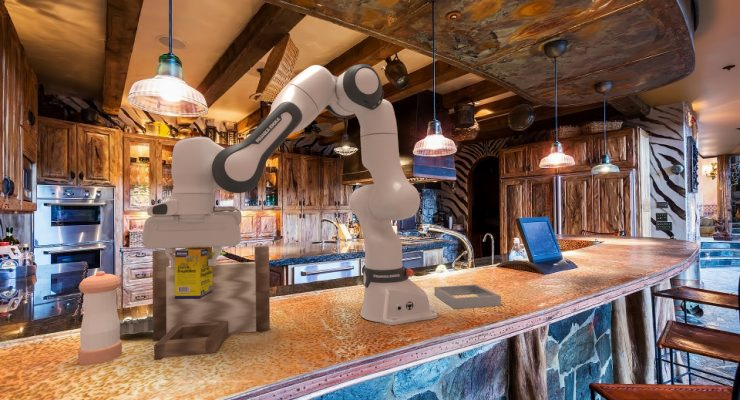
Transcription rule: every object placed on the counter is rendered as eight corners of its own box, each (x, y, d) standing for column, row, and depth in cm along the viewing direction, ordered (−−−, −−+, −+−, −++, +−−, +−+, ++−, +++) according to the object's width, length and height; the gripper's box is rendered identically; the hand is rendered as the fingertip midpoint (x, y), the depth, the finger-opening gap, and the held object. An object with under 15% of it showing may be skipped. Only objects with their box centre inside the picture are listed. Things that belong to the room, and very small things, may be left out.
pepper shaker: (72, 372, 67) (71, 276, 67) (85, 357, 74) (85, 270, 74) (116, 365, 70) (116, 272, 70) (125, 351, 77) (125, 267, 77)
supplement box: (200, 299, 74) (200, 249, 75) (173, 299, 74) (173, 250, 75) (213, 292, 80) (213, 246, 81) (188, 292, 80) (188, 246, 81)
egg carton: (168, 326, 89) (168, 310, 90) (151, 332, 82) (151, 314, 83) (127, 330, 89) (127, 314, 89) (106, 337, 81) (106, 319, 82)
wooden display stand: (270, 328, 90) (269, 245, 90) (263, 354, 74) (262, 254, 75) (156, 337, 85) (156, 249, 85) (123, 367, 69) (122, 259, 70)
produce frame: (476, 292, 123) (475, 284, 123) (500, 305, 107) (500, 295, 107) (434, 295, 120) (434, 287, 120) (453, 309, 104) (453, 299, 104)
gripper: (243, 206, 83) (244, 262, 83) (152, 207, 79) (152, 266, 79) (238, 206, 77) (239, 267, 76) (138, 207, 73) (139, 272, 73)
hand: (194, 267), depth 78 cm, fingers closed on supplement box, 6 cm apart
